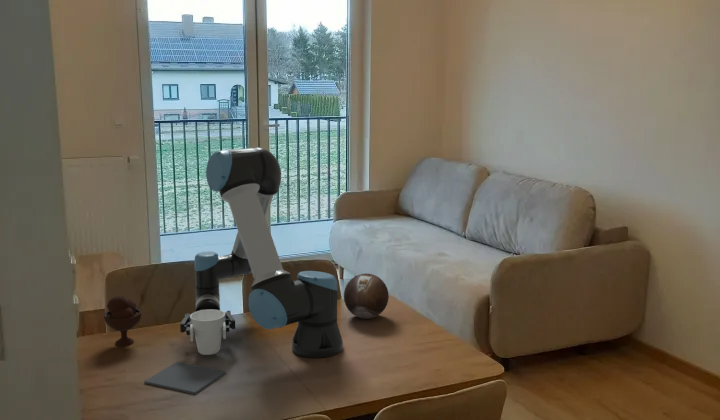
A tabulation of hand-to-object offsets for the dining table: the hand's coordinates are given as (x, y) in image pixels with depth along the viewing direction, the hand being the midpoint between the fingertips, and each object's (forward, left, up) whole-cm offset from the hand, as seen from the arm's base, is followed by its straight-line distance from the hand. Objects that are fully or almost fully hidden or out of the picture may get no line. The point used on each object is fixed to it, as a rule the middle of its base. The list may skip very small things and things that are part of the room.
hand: (208, 335), depth 195 cm
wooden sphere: (-26, -53, -8) cm, 60 cm away
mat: (0, +11, -8) cm, 14 cm away
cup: (+3, -4, -7) cm, 8 cm away
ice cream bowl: (+32, -2, -8) cm, 33 cm away
